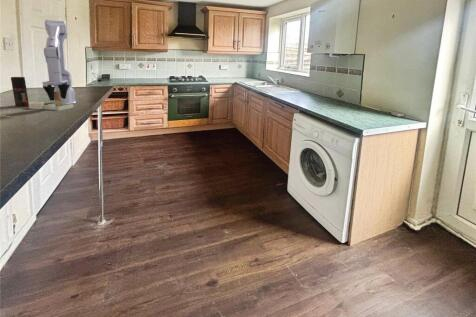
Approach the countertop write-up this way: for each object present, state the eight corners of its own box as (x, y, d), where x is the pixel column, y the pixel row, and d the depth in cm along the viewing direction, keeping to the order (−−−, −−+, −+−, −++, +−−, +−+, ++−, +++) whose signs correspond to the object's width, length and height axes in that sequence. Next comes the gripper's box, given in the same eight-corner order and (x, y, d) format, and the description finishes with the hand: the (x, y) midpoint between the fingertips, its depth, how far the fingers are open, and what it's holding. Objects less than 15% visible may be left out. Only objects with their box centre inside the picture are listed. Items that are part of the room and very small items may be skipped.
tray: (60, 106, 175) (59, 102, 174) (74, 108, 173) (73, 104, 172) (43, 109, 165) (42, 105, 164) (58, 111, 163) (57, 107, 162)
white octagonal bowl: (37, 107, 170) (36, 101, 169) (47, 108, 169) (46, 102, 168) (26, 109, 164) (25, 103, 163) (36, 110, 163) (36, 104, 162)
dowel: (58, 106, 170) (56, 91, 168) (63, 107, 170) (61, 91, 167) (54, 107, 168) (52, 92, 165) (59, 108, 167) (57, 92, 164)
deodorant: (22, 108, 167) (17, 78, 162) (12, 107, 168) (7, 77, 163) (31, 106, 172) (27, 77, 168) (22, 105, 173) (17, 76, 169)
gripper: (49, 73, 155) (53, 101, 160) (71, 72, 169) (74, 98, 173) (37, 72, 157) (41, 100, 161) (60, 71, 170) (63, 97, 175)
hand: (58, 99), depth 167 cm, fingers open, 7 cm apart
